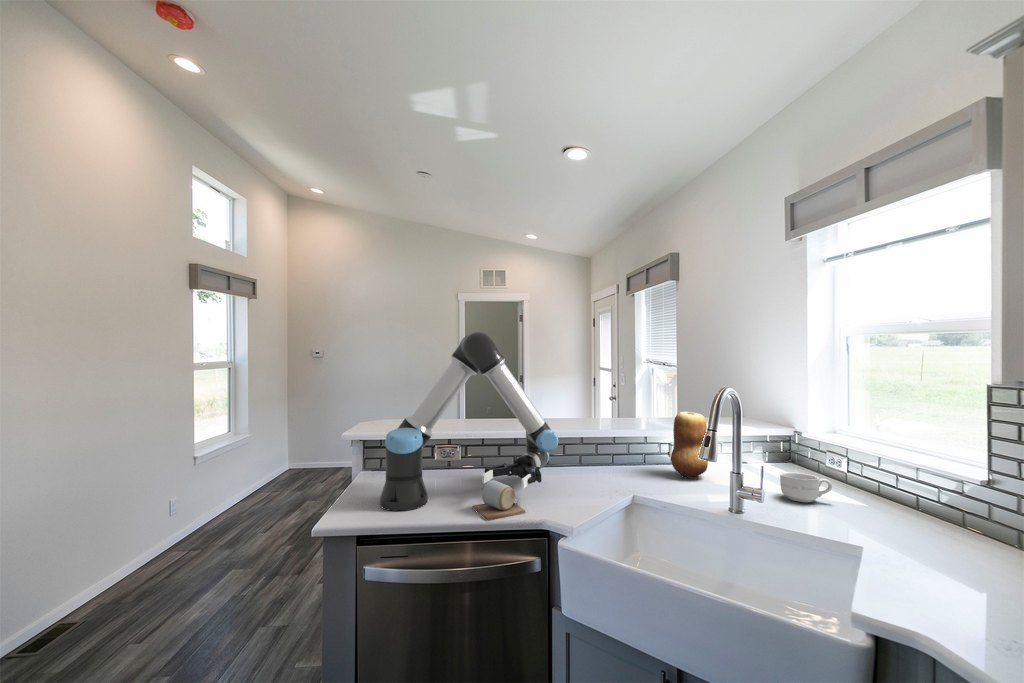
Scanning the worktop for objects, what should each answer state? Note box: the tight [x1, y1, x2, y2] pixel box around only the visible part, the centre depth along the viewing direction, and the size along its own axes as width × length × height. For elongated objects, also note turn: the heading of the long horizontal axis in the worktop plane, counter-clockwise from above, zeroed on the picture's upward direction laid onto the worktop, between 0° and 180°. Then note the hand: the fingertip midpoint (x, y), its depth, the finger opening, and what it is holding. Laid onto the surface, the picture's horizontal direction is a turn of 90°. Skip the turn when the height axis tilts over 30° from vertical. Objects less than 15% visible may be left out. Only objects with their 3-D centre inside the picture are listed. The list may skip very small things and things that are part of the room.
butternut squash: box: [669, 411, 709, 478], centre depth 168 cm, size 14×13×25 cm
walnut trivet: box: [472, 503, 526, 522], centre depth 133 cm, size 12×13×1 cm
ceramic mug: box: [481, 479, 518, 510], centre depth 134 cm, size 11×8×8 cm
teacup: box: [779, 472, 833, 503], centre depth 139 cm, size 14×11×8 cm
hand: (502, 481), depth 134 cm, fingers open, 13 cm apart
